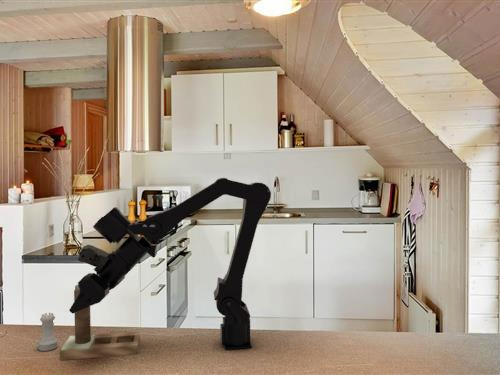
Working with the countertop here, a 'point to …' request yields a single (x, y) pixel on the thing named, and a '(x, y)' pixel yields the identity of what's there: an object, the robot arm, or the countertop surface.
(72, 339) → the board
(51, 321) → the rook chess piece
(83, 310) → the pepper mill
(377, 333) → the countertop surface
